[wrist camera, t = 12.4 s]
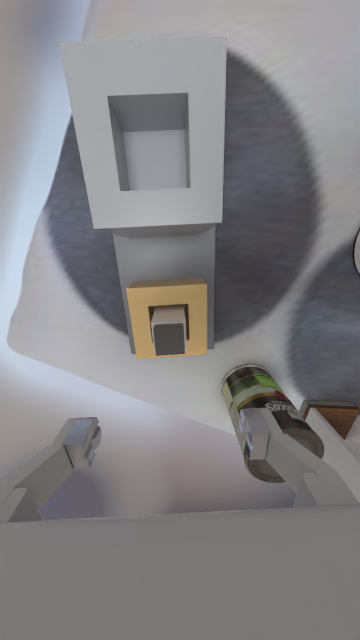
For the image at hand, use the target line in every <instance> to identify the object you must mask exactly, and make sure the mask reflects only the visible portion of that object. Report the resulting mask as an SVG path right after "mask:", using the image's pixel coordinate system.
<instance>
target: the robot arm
mask: <svg viewBox="0 0 360 640" xmlns="http://www.w3.org/2000/svg"><path fill="white" fill-rule="evenodd" d="M354 258H355V264H356V268H357V270H358V272H359V274H360V231H359V234H358V237H357V240H356V244H355V251H354ZM240 416H241V419H240V420H239V428H240V433H241V437H242V439H243V440H244V441H245V448H246V451H247V454H248V457H249V460H256V459H266V461H267V462H268V463H269V464H270V465H271V466H272V467H273V468H274V470H275V471H276V472H277V473H278V474H279V475H280V476H281V477H282V478H283V479H284V480H285V481H286V482H287V483H288V485H289V486H290V487H291V488H292V489H293V490H294V491H295V492H296V493H297V496H296V500H295V503H294V506H293V508H276V509H257V510H237V511H218V512H198V513H178V514H159V515H141V516H121V517H103V518H82V519H63V520H44V519H43V516H42V515H41V513H40V511H39V509H40V508H41V506H42V505H43V504H44V503H45V502H46V501H47V500H48V499H49V497H50V496H51V495H52V494H53V493H54V492H55V491H56V490H57V488H58V487H59V486H60V485H61V484H62V483H63V482H64V481H65V479H66V478H67V477H68V476H69V475H70V474H71V473H72V472H73V469H84V468H90V467H91V464H92V462H93V459H94V456H95V453H94V450H95V449H96V448H97V447H98V446H99V444H100V440H101V428H100V427H99V426H98V422H99V421H98V419H97V417H88V418H69V419H68V420H67V421H66V422H65V424H64V426H63V427H62V429H61V431H60V432H59V434H58V435H57V437H56V438H55V440H54V442H53V443H52V445H51V446H48V447H46V448H45V449H44V450H42V451H41V452H40V453H39V454H37V455H36V456H35V457H33V458H32V459H31V460H30V461H28V462H27V463H26V464H24V465H23V466H22V467H20V468H19V469H18V470H17V471H15V472H14V473H13V474H11V475H10V476H9V477H8V478H6V479H5V480H4V481H2V482H1V483H0V640H360V503H359V502H358V500H357V499H356V498H355V496H354V495H353V493H352V492H351V490H350V489H349V488H348V486H347V485H346V483H345V482H344V481H343V479H342V478H341V476H340V475H339V474H338V472H337V471H336V470H335V469H334V468H332V467H331V466H330V465H328V464H327V463H325V462H324V461H323V460H321V459H320V458H319V457H317V456H316V455H315V454H313V453H312V452H311V451H309V450H308V449H306V448H305V447H304V446H302V445H301V444H300V443H298V442H297V441H296V440H294V439H293V438H292V437H290V436H289V435H287V434H283V432H282V430H281V428H280V427H279V425H278V423H277V421H276V420H275V418H274V416H273V415H272V413H271V411H270V409H269V408H251V409H241V410H240Z"/></svg>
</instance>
